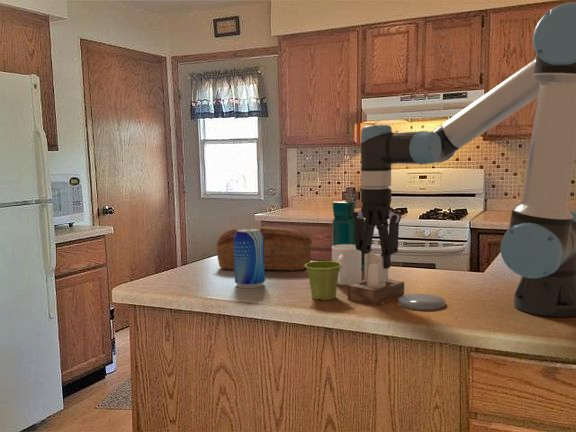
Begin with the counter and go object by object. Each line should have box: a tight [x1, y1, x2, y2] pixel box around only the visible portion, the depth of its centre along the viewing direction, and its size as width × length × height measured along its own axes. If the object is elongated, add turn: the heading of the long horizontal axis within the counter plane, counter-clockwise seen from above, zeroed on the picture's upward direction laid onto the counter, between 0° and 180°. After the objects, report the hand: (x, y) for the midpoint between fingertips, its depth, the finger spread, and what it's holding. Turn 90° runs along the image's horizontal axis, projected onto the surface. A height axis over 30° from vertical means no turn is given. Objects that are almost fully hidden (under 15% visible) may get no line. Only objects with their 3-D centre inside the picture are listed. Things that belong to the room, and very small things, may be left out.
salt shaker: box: [366, 253, 386, 288], centre depth 140 cm, size 5×5×11 cm
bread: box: [216, 225, 313, 271], centre depth 177 cm, size 12×31×14 cm, turn 81°
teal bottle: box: [332, 200, 365, 272], centre depth 171 cm, size 10×8×22 cm
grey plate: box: [398, 293, 446, 311], centre depth 133 cm, size 11×11×1 cm
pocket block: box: [347, 278, 405, 306], centre depth 140 cm, size 9×12×4 cm
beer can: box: [234, 227, 266, 290], centre depth 154 cm, size 8×8×16 cm
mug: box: [331, 244, 362, 286], centre depth 155 cm, size 12×8×10 cm
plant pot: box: [305, 260, 342, 301], centre depth 141 cm, size 9×9×9 cm
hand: (376, 279), depth 140 cm, fingers closed on salt shaker, 4 cm apart
